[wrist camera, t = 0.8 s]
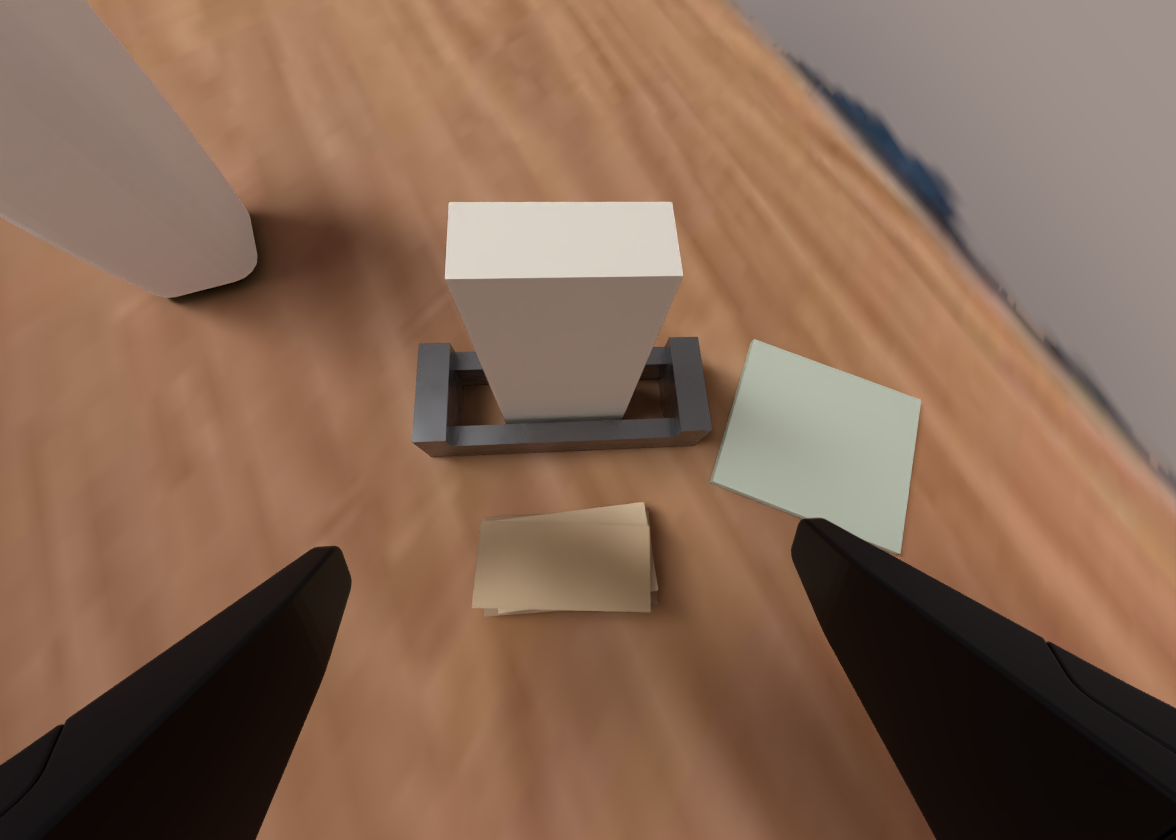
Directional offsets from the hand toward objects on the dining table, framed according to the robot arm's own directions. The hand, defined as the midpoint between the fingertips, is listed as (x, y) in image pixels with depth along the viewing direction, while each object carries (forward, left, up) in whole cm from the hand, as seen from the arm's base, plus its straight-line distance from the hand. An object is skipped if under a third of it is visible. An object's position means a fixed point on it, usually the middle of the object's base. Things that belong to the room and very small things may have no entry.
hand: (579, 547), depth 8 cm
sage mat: (-2, -15, -13) cm, 20 cm away
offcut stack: (0, 0, -13) cm, 13 cm away
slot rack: (+7, -4, -13) cm, 15 cm away
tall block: (+7, -4, -13) cm, 15 cm away
